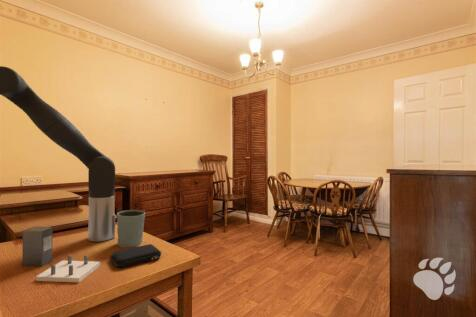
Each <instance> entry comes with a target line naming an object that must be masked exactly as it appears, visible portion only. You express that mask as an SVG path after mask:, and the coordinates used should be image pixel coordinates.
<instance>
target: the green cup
mask: <svg viewBox="0 0 476 317" xmlns="http://www.w3.org/2000/svg"><path fill="white" fill-rule="evenodd" d="M145 219H146V212H145V211H144V210H139V209H129V210H122V211H119V212H117V214H116V222H117V228H116V230H117V245H118V247H120V248H123V247H129V248H134V246H135V247H138V246H141V244H142V243H143V234H144V227H145ZM137 245H138V246H137Z"/></svg>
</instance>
